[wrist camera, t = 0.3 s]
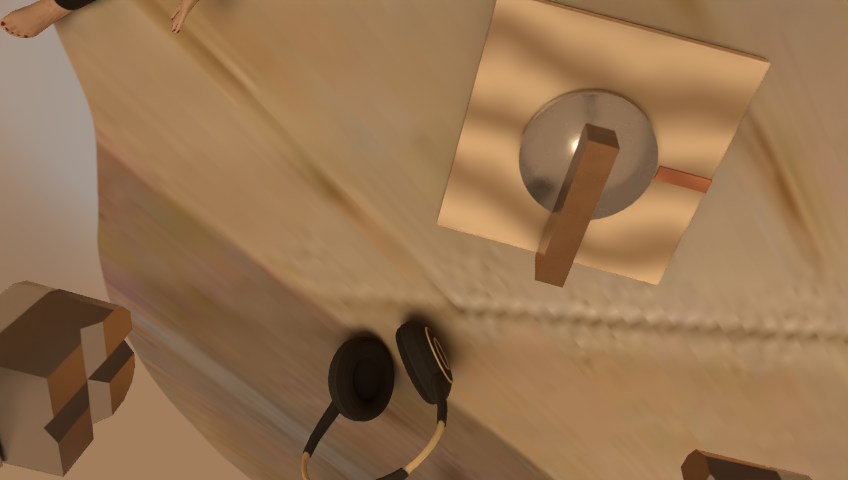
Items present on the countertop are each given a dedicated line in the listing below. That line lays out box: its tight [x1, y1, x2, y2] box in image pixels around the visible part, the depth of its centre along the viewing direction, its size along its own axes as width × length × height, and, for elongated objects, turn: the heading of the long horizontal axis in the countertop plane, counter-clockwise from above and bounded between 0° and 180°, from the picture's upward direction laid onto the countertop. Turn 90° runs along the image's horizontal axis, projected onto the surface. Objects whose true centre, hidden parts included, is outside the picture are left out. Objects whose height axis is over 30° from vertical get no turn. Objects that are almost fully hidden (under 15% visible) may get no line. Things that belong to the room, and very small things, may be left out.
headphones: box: [301, 322, 453, 480], centre depth 61 cm, size 9×15×20 cm, turn 115°
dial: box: [519, 89, 658, 287], centre depth 53 cm, size 16×11×5 cm
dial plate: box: [437, 0, 771, 285], centre depth 54 cm, size 21×21×2 cm
